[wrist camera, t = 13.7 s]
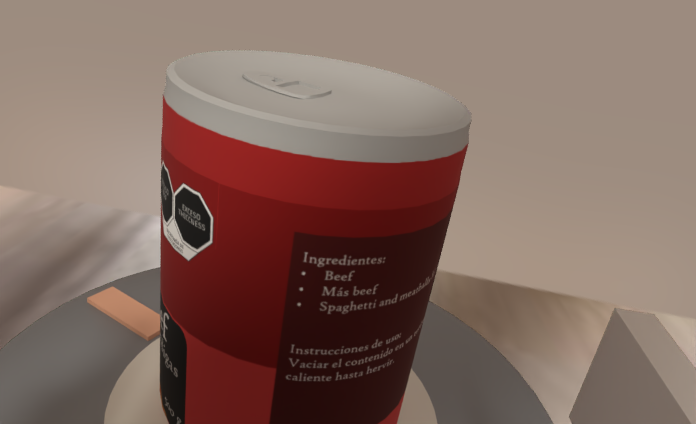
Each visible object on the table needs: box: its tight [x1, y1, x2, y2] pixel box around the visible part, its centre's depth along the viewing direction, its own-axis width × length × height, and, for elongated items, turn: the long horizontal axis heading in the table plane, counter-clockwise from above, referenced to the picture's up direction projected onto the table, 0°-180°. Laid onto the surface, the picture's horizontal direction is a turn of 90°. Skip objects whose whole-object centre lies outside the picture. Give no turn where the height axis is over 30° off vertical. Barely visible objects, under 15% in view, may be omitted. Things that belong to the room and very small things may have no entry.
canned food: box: [160, 50, 471, 424], centre depth 17 cm, size 8×8×11 cm
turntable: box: [0, 267, 553, 424], centre depth 20 cm, size 20×20×2 cm
